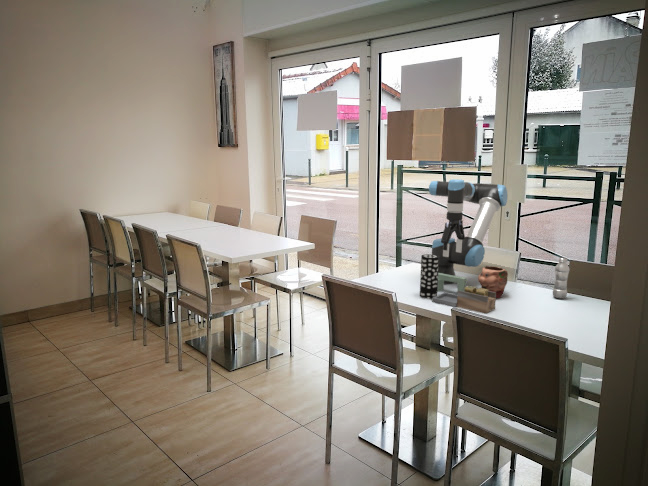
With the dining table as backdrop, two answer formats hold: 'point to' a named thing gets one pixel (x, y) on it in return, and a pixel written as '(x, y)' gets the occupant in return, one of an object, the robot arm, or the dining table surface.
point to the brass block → (471, 289)
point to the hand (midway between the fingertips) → (452, 254)
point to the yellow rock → (482, 292)
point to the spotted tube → (429, 276)
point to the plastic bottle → (561, 278)
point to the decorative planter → (493, 279)
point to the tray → (446, 299)
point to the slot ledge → (476, 301)
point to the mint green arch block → (451, 278)
